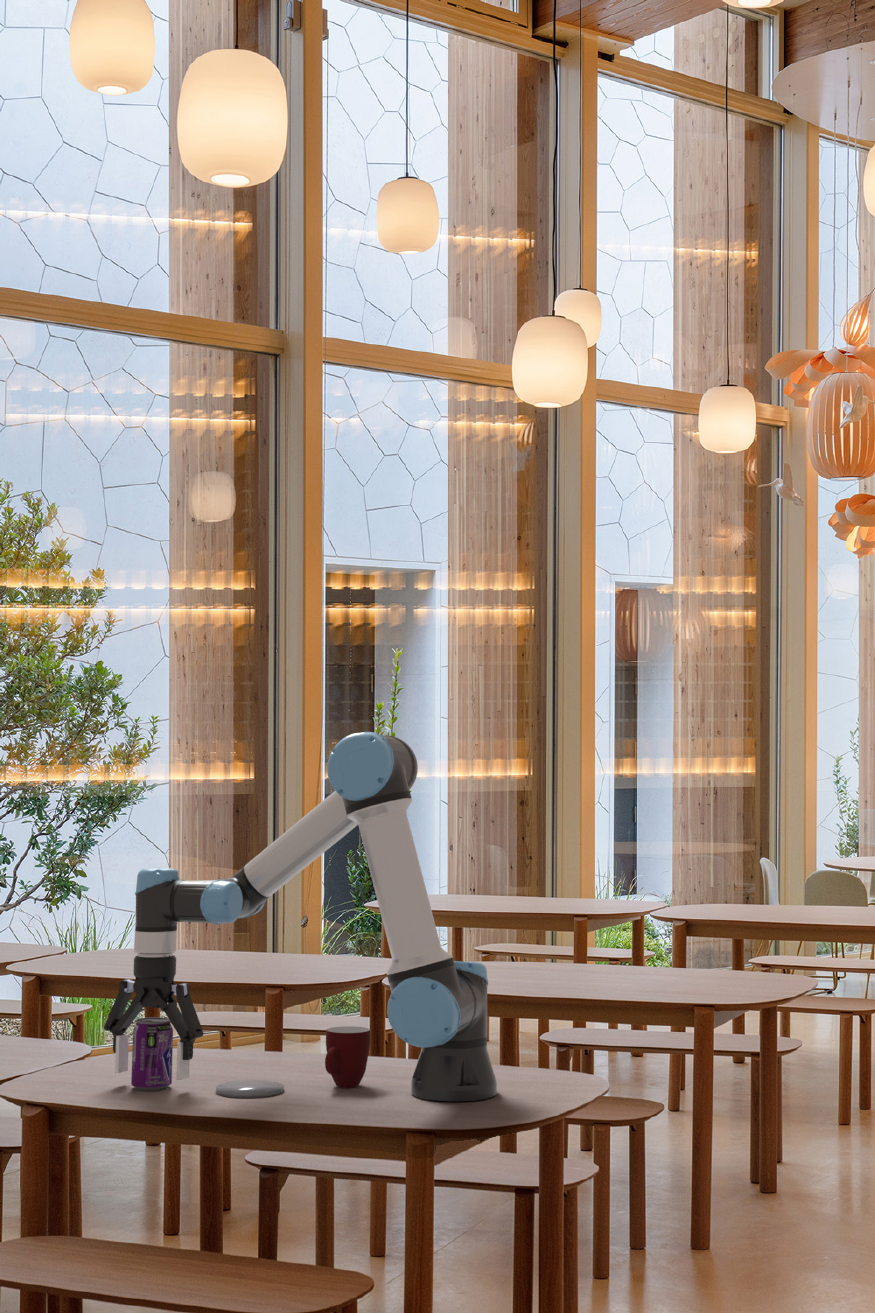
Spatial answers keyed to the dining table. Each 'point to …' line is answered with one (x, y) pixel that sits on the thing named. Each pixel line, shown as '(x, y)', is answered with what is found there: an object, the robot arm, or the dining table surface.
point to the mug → (347, 1054)
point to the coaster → (249, 1089)
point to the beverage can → (152, 1054)
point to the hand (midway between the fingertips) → (151, 1075)
